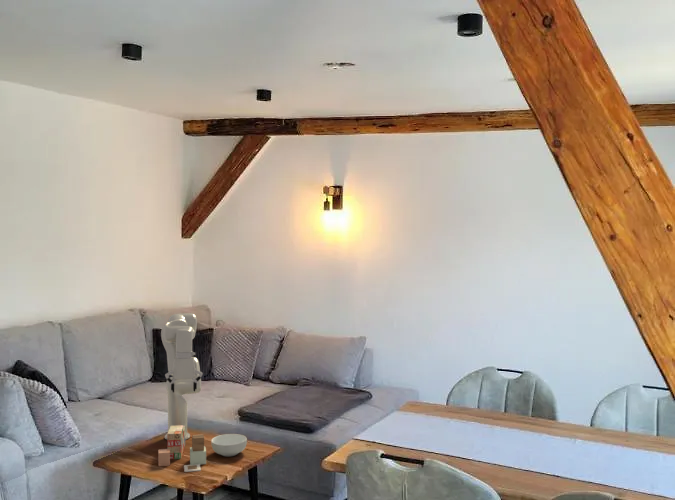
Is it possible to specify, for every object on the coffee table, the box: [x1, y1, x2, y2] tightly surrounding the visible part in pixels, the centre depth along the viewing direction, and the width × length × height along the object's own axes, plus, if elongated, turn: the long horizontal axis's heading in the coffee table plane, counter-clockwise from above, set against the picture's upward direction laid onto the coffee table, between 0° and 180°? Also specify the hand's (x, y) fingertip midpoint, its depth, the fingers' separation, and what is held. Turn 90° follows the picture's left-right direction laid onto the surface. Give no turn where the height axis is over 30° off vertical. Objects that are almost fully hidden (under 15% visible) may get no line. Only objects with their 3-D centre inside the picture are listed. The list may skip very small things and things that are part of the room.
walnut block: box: [191, 433, 205, 451], centre depth 302 cm, size 5×5×6 cm
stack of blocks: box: [166, 425, 186, 460], centre depth 315 cm, size 21×6×12 cm, turn 8°
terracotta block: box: [157, 448, 171, 467], centre depth 299 cm, size 5×5×6 cm
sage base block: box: [189, 445, 207, 466], centre depth 302 cm, size 7×7×6 cm
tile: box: [183, 464, 202, 473], centre depth 293 cm, size 7×7×1 cm
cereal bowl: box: [210, 433, 248, 457], centre depth 313 cm, size 17×17×7 cm
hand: (183, 391), depth 310 cm, fingers open, 9 cm apart
